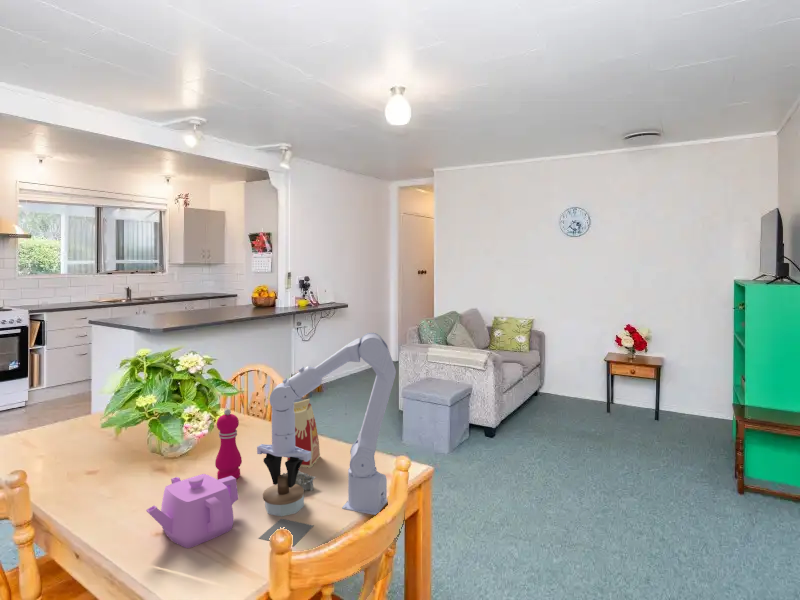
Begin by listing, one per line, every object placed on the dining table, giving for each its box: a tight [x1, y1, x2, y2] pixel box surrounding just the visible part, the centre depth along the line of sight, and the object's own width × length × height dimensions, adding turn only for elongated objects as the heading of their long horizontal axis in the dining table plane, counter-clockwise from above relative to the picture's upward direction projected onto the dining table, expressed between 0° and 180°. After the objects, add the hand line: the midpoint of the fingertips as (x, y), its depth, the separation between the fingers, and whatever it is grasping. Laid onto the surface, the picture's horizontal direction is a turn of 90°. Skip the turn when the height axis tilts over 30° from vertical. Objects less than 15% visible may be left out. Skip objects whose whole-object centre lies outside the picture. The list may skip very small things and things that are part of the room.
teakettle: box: [145, 473, 239, 549], centre depth 114 cm, size 17×17×12 cm
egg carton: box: [276, 470, 316, 491], centre depth 136 cm, size 11×8×4 cm
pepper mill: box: [214, 408, 243, 480], centre depth 142 cm, size 7×7×20 cm
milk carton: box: [286, 398, 321, 469], centre depth 153 cm, size 9×9×20 cm
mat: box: [257, 518, 315, 547], centre depth 113 cm, size 9×9×1 cm
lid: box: [262, 473, 305, 505], centre depth 124 cm, size 10×10×5 cm
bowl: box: [264, 494, 305, 517], centre depth 125 cm, size 9×9×4 cm
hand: (284, 484), depth 125 cm, fingers open, 4 cm apart
